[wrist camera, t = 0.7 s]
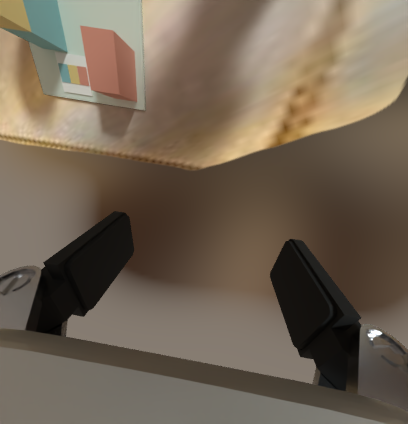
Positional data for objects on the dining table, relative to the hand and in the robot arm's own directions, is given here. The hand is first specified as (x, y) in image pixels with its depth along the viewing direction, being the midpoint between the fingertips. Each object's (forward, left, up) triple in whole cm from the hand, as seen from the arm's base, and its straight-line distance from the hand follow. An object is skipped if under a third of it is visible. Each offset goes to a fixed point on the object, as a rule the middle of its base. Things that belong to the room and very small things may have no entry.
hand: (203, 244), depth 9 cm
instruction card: (-12, -31, -29) cm, 44 cm away
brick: (-13, -21, -29) cm, 38 cm away
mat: (-16, -28, -29) cm, 43 cm away
